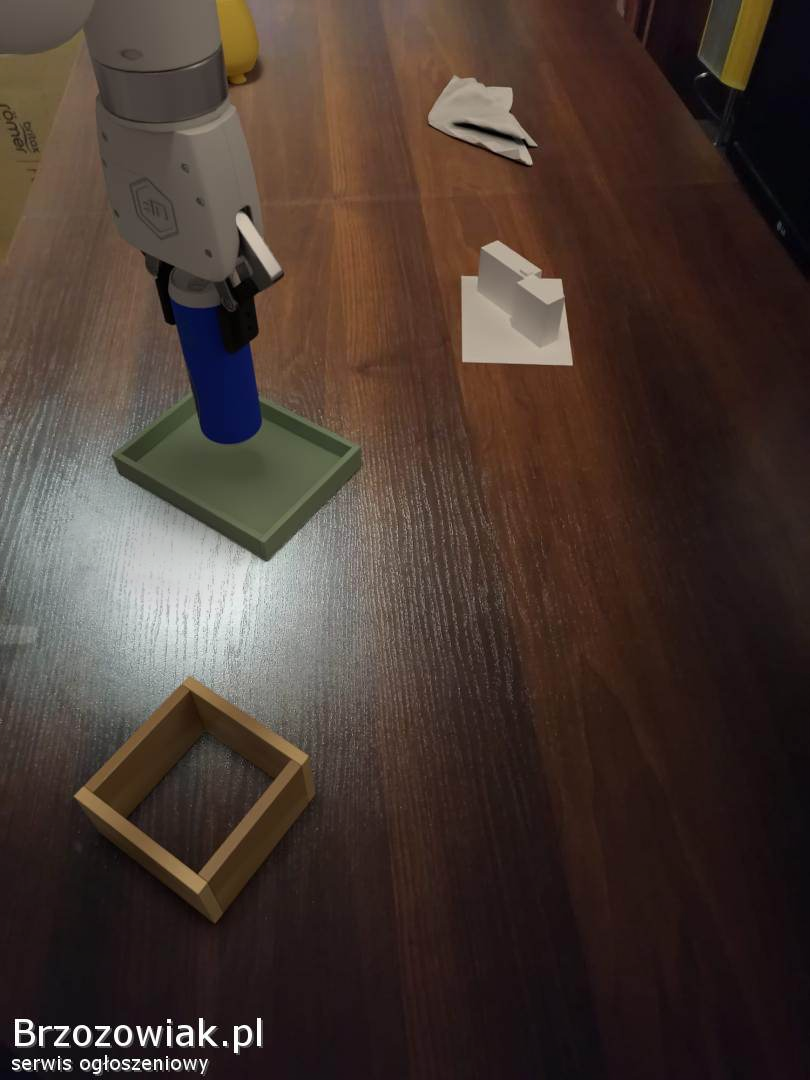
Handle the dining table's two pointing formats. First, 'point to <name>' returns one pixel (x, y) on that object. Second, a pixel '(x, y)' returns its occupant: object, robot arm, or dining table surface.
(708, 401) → the dining table surface
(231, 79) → the teapot
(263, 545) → the tray
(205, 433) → the beverage can
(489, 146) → the cloth
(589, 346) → the dining table surface
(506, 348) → the napkin holder
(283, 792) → the square frame
